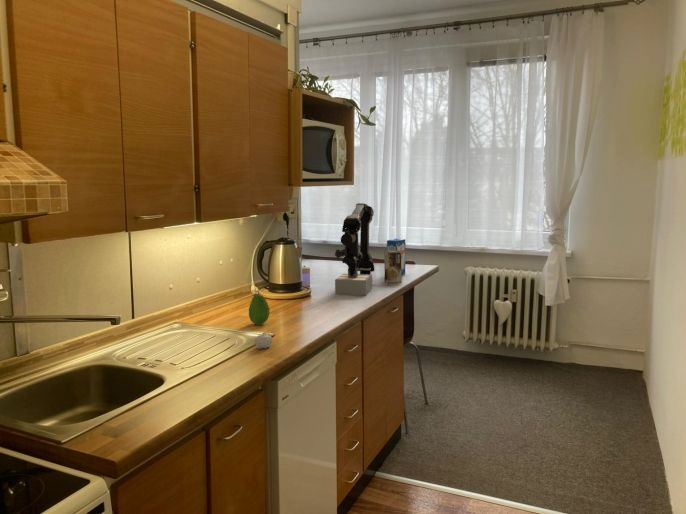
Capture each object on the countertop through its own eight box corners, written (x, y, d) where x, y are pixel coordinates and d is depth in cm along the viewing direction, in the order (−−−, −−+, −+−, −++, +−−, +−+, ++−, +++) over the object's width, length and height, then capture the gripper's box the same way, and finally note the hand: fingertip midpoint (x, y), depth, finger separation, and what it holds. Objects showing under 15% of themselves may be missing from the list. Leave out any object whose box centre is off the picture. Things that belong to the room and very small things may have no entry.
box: (342, 287, 283) (342, 273, 282) (372, 288, 280) (372, 274, 278) (335, 294, 268) (334, 279, 266) (366, 295, 264) (365, 280, 263)
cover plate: (342, 275, 281) (342, 265, 280) (369, 276, 278) (369, 266, 277) (335, 281, 268) (335, 270, 267) (364, 281, 264) (364, 270, 264)
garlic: (267, 344, 190) (266, 329, 189) (275, 347, 186) (275, 332, 185) (251, 347, 186) (250, 332, 185) (259, 351, 182) (259, 336, 181)
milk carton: (396, 273, 323) (395, 238, 320) (405, 274, 320) (405, 239, 317) (387, 275, 315) (386, 240, 312) (396, 276, 312) (396, 241, 309)
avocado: (250, 327, 210) (249, 296, 209) (248, 322, 218) (246, 292, 216) (271, 326, 213) (270, 295, 211) (268, 321, 220) (267, 291, 218)
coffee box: (401, 280, 301) (401, 250, 298) (401, 282, 294) (401, 252, 292) (384, 280, 302) (384, 250, 299) (384, 282, 295) (384, 252, 293)
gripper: (340, 240, 281) (341, 271, 283) (331, 245, 263) (332, 278, 265) (362, 241, 278) (362, 272, 281) (354, 245, 261) (355, 278, 263)
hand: (352, 275), depth 272 cm, fingers closed on cover plate, 4 cm apart
